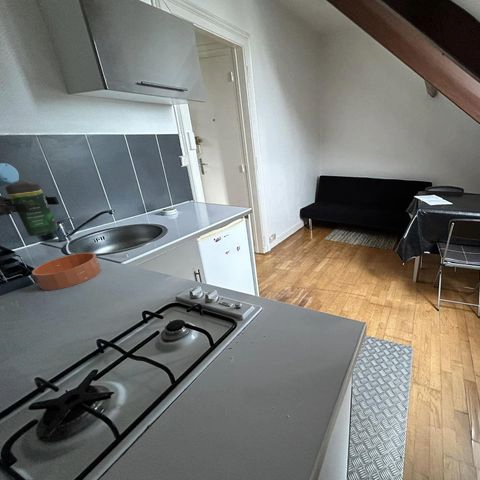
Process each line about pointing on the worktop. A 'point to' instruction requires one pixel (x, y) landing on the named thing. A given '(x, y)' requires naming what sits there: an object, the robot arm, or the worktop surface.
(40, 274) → the bowl
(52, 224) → the coffee jar
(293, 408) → the worktop surface
